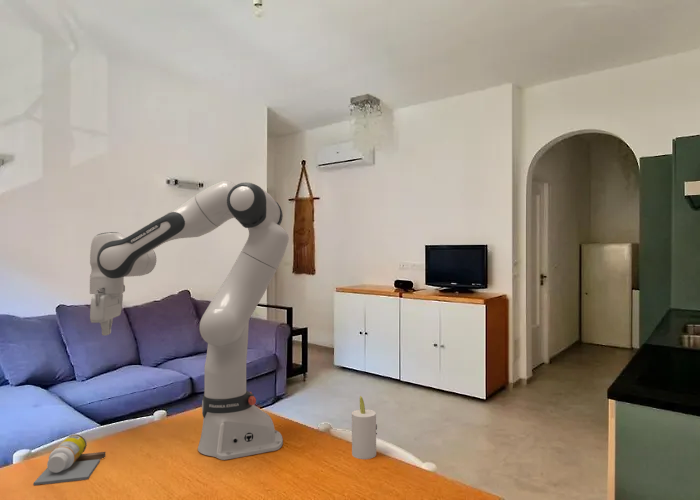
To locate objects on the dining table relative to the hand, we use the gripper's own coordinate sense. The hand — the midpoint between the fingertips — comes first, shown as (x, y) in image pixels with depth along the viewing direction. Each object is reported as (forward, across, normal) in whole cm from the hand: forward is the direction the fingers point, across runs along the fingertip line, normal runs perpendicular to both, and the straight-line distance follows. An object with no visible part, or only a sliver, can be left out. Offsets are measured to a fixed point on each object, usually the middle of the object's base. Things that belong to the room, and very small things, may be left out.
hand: (106, 334), depth 134 cm
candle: (+29, -33, -69) cm, 82 cm away
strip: (+29, -17, +2) cm, 34 cm away
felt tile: (+29, -24, +2) cm, 38 cm away
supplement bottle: (+25, -16, +3) cm, 30 cm away
